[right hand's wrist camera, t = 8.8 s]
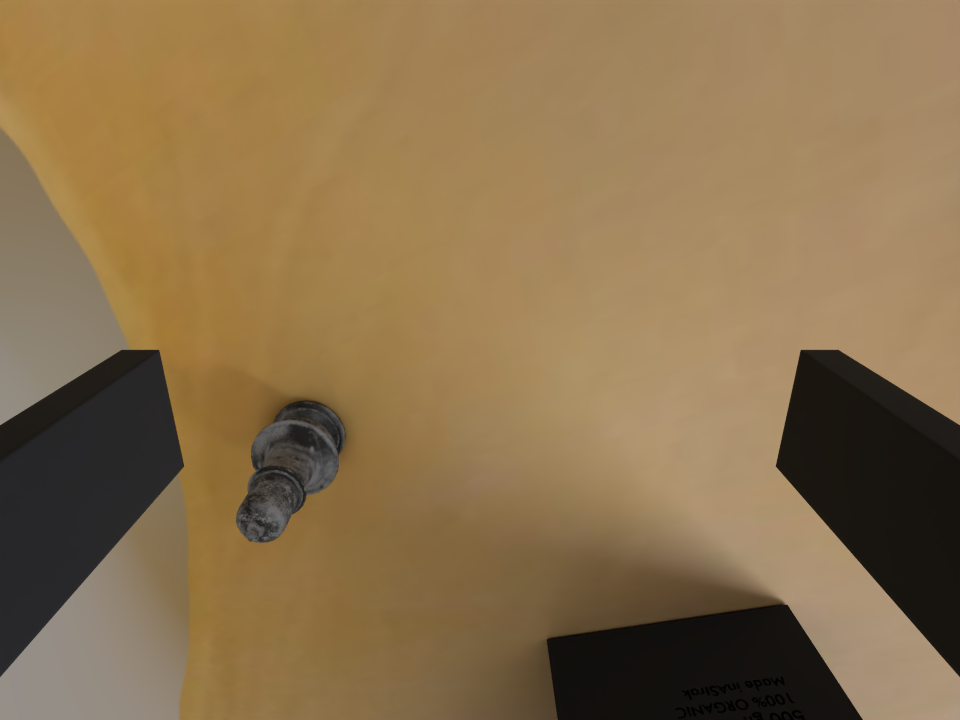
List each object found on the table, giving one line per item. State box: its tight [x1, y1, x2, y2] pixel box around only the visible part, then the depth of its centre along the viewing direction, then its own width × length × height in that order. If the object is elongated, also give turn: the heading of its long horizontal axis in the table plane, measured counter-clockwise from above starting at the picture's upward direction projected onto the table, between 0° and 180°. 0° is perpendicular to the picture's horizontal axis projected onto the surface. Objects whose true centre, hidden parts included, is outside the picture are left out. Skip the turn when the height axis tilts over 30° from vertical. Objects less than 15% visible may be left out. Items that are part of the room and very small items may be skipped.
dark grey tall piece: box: [236, 401, 345, 543], centre depth 37 cm, size 6×6×12 cm
